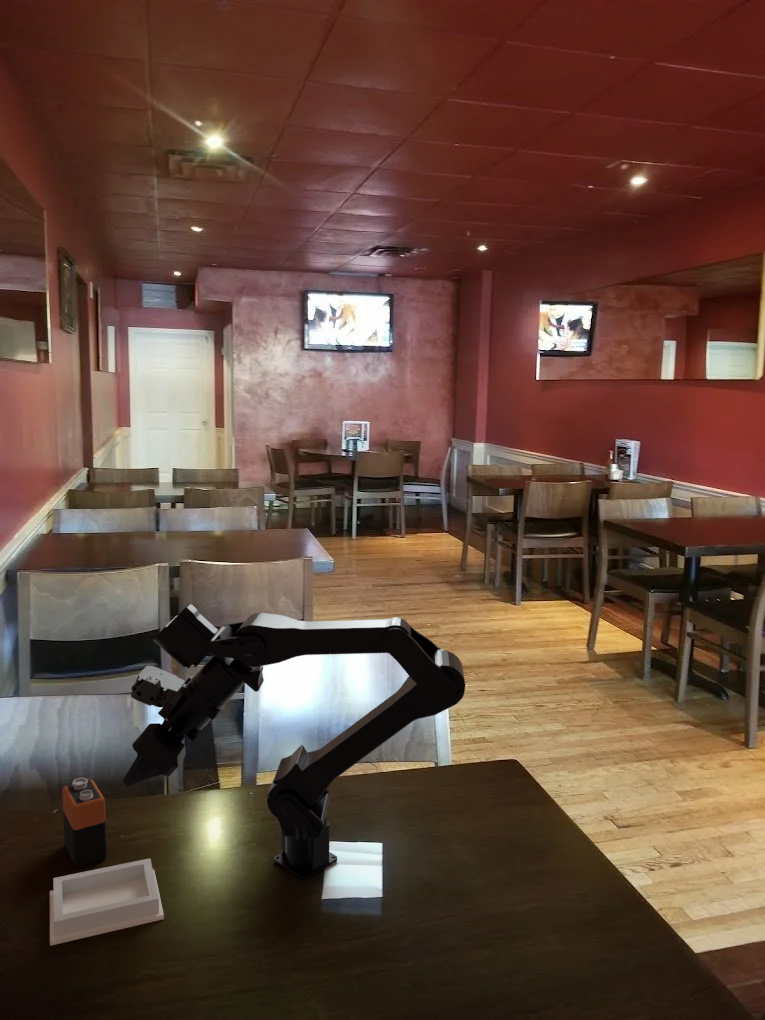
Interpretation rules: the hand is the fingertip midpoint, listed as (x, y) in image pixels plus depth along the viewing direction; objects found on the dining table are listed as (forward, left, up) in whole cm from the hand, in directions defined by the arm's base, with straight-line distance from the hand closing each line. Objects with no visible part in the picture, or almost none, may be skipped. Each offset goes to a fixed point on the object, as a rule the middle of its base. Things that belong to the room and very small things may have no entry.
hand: (137, 766), depth 109 cm
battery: (+6, +5, -13) cm, 15 cm away
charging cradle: (-7, +9, -13) cm, 17 cm away
